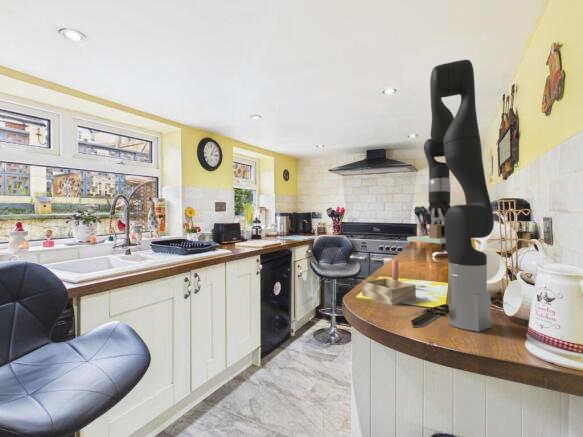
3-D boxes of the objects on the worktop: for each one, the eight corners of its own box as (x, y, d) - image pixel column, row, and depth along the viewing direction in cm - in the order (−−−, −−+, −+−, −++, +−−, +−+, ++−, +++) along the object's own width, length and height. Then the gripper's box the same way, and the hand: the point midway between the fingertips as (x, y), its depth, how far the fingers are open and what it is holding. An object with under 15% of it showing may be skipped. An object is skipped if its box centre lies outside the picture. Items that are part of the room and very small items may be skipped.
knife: (417, 331, 84) (417, 326, 84) (396, 324, 89) (396, 319, 89) (459, 311, 99) (459, 306, 99) (439, 306, 104) (439, 302, 104)
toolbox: (415, 301, 109) (415, 284, 108) (392, 307, 102) (391, 289, 102) (384, 293, 120) (384, 277, 120) (361, 298, 114) (361, 281, 114)
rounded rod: (399, 290, 125) (399, 260, 125) (396, 291, 123) (395, 261, 123) (394, 289, 127) (394, 259, 127) (391, 289, 125) (390, 260, 125)
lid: (458, 241, 118) (458, 224, 118) (439, 243, 112) (439, 225, 112) (426, 239, 130) (426, 223, 130) (407, 240, 124) (407, 224, 124)
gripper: (416, 191, 122) (417, 235, 123) (451, 189, 110) (451, 237, 111) (428, 192, 126) (429, 234, 126) (463, 189, 114) (463, 236, 114)
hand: (439, 235), depth 118 cm, fingers closed on lid, 3 cm apart
